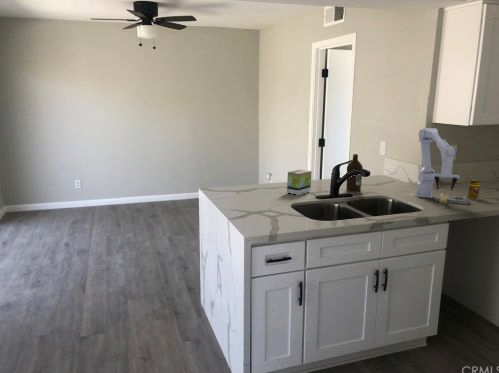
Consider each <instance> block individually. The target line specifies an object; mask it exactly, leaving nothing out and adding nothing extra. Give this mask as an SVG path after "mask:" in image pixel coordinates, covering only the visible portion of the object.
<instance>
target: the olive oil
mask: <svg viewBox="0 0 499 373" xmlns="http://www.w3.org/2000/svg"><path fill="white" fill-rule="evenodd" d="M350 162H351V163H350ZM350 162H348V163H347V167H346V173H347V172H349V171H351V170H353V169H363V170H364V168H363V164H362V163H361V162H360V161H359V154H358V153H353V154H352V160H351V161H350ZM362 179H363V175H362V176H361V175H355V176H352V177H350V178H348V179H347V178H346V191H347V190H349V191H348V192H352V191H358V192H360V191H361V190H362V189H361V188H362Z"/></svg>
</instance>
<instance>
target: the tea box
mask: <svg viewBox="0 0 499 373" xmlns="http://www.w3.org/2000/svg"><path fill="white" fill-rule="evenodd" d="M286 181H287V182H286V194H287V193H291V194H290V195H292V194H296V195H295V196H298V195H299V196H302V195H304V193H305V194H308V193H307V192H309V191H310V192H311V190H312V189H311V188H312V186H311V185H312V171H311V170H306V169H295V170H292V171H287V180H286ZM310 192H309V193H310ZM301 194H302V195H301Z"/></svg>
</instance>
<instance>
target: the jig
mask: <svg viewBox="0 0 499 373" xmlns="http://www.w3.org/2000/svg"><path fill="white" fill-rule="evenodd" d="M467 197H468V196H466V197H464V196H453V195H448V198H447V204H456V203H457V204H459V205H466V206H468V205H469V203H470V202H469V201H470V200H469V199H468V198H467ZM439 201H440V194H435V202H436V203H437V202H438V203H439Z"/></svg>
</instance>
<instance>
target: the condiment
mask: <svg viewBox="0 0 499 373" xmlns="http://www.w3.org/2000/svg"><path fill="white" fill-rule="evenodd" d="M469 181H470V182H469V184H468V192H467V196H465V195H464V196H463V197H468V200H470V199H472V200H473V201H478V200H477V199H478V198H479V193H480V180H479V179H470V180H469ZM472 200H471V201H472Z"/></svg>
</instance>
